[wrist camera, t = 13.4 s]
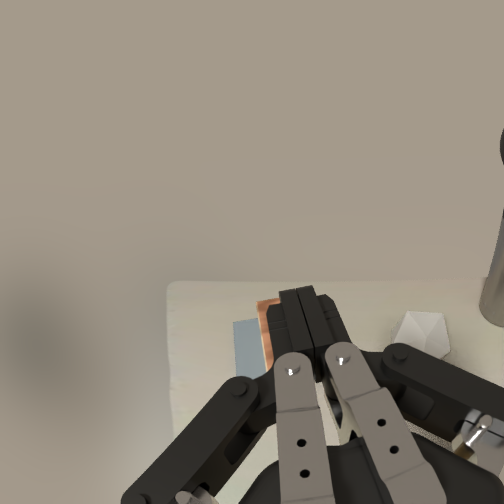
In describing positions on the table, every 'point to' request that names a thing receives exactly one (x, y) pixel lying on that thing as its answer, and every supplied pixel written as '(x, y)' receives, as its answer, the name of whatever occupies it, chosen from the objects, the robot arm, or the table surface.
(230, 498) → the table surface
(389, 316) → the table surface
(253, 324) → the mat
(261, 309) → the beech block
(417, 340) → the die
